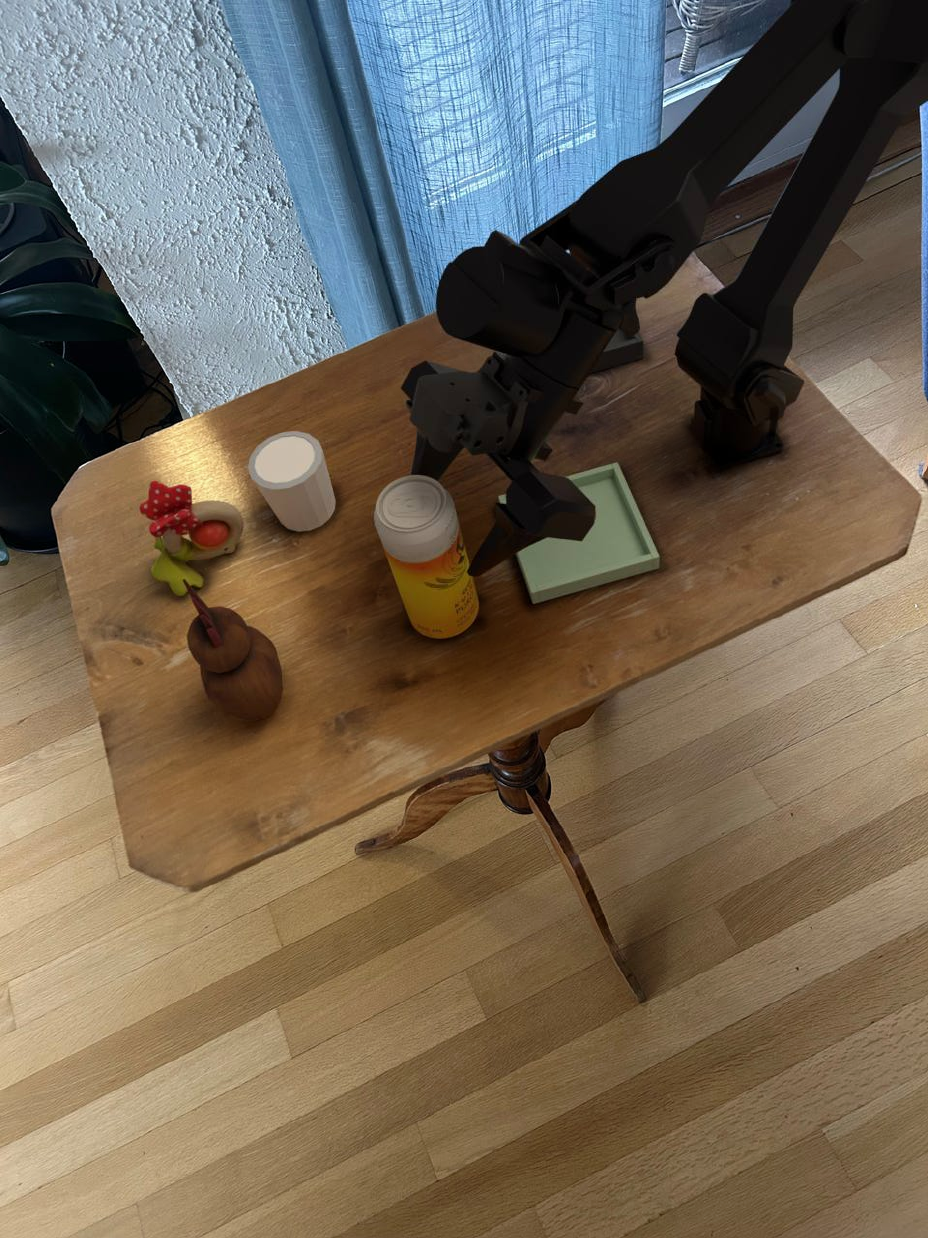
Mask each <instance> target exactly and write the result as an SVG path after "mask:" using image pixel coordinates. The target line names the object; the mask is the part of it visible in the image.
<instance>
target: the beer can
mask: <svg viewBox="0 0 928 1238" xmlns="http://www.w3.org/2000/svg"><path fill="white" fill-rule="evenodd" d="M373 521H374V525H375V529H376V532H377V534H378V536H379V539H380V542H381V545H382V548H383V551H384V553H385V556H386V559H387V561H388V564H389V567H390V570H391V573H392V576H393V578H394V581H395V584H396V586H397V589H398V592H399V594H400V598H401V600H402V604H403V605H404V608H405V611H406V614H407V616H408V619H409V621H410V623H411V626H412V627H413V628H414V629H415V630H416V631H417V632H418V633H420V634H421V635H423V636H425V637H427V638H433V639H447V638H452V637H455V636H458V635H460V634H462V633H463V632H464V631H466V630H467V629H468V628H469V627H471V625H472V624H473V622H474V621H475V620H476V618H477V616H478V613H479V610H480V609H479V608H480V602H479V597H478V593H477V590H476V585H475V581H474V576H469V575H468V574H467V570H468V568H469V566H470V561H469V558H468V554H467V553H468V552H467V550H466V545H465V541H464V538H463V533H462V530H461V526H460V521H459V517H458V513H457V509H456V506H455V502H454V499H453V497H452V495H451V493H450V492H449V491H448V490H447V488H444V486H443V485H442V484H441V483H440V482H439V480H438V481H436V480H434V479H433V478H430V477H427V476H423V475H411V474H410V475H406V476H402V477H399V478H396V479H394V480H393V481H391V482H390V483H389V484H388V485H387V486H385V487H384V488H383V489H382V490H381V492H380V493H379V495H378V497H377V500H376V502H375V509H374V514H373Z"/></svg>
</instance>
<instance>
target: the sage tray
mask: <svg viewBox="0 0 928 1238" xmlns="http://www.w3.org/2000/svg"><path fill="white" fill-rule="evenodd" d="M565 477H566V478H569V479H570V480H571V481H572V482H573V483H574V484H575V485H576V486H577V488H578V489H579V490H580V491H581V492H582V493H583V494H584V495H585V496H586V497H587V498H588V499H589V500H590V501H591V502H592V503H593V504H594V505H595V508H596V519H595V523H594V525H593V526H592V528H591V529H590V531H589V532H588V534H587V535H586V536H585V538H584V539H583V541H574V540H566V539H556V538H549V537H548V538H545V539H543V540H541V541H539V542H537V543H535V544H533V545H530V546H528V547H526V548H525V549H523V550H521V551H519V552H518V553H516V554H515V556H516V559H517V562H518V564H519V568H520V571H521V573H522V577H523V579H524V583H525V585H526V588H527V592H528V594H529V598H530V600H531V602H532V605H534V604H538V603H539V604H540V603H542V602H545V601H549V600H553V599H556V598H559V597H562V596H566V595H570V594H574V593H577V592H580V591H584V590H589V589H591V588H595V587H599V586H602V585H606V584H609V583H612V582H616V581H619V580H623V579H626V578H630V577H633V576H634V577H635V576H638V575H640V574H644V573H648V572H652V571H654V570H657V569H660V554H659V552H658V550H657V548H656V545H655V543H654V540H653V538H652V536H651V534H650V532H649V529H648V527H647V525H646V523H645V521H644V519H643V516H642V514H641V512H640V509H639V506H638V505H637V502H636V500H635V498H634V496H633V493H632V492H631V489H630V487H629V484H628V482H627V480H626V478H625V476H624V473H623V471H622V469H621V466H620V464H619V462H613V463H610V464H606V465H601V466H599V467H595V468H592V469H588V470H585V471H582V472H576V473H573V474H571V475H567V476H565ZM497 496H498V497H497V498H498V503H503V504H506V493H504V494H501V495H497Z"/></svg>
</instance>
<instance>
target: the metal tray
mask: <svg viewBox="0 0 928 1238" xmlns="http://www.w3.org/2000/svg"><path fill="white" fill-rule="evenodd" d="M643 359H644V339H643V337H642V335H641V333H640V331H639V332H638V333H637V334H630V333H628V332H625V331H623V330H620V329H617V331H616V333H615V334H614V336H613V338H612V339H611V341H610V342H609V344H608V345H607V347H606V348H605V350H604V352H603V353H602V355H601V356H600V358H599V359H598V361H597V362H596V364H595V366H594V367H593V369H592V370H591V372H590V373H589V375H590V374H593V373H597V372H600V371H604V370H607V369H611V368H614V367H618V366H622V365H624V364H625V365H626V364H628V363H633V362H635V361H639V360H643Z"/></svg>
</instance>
